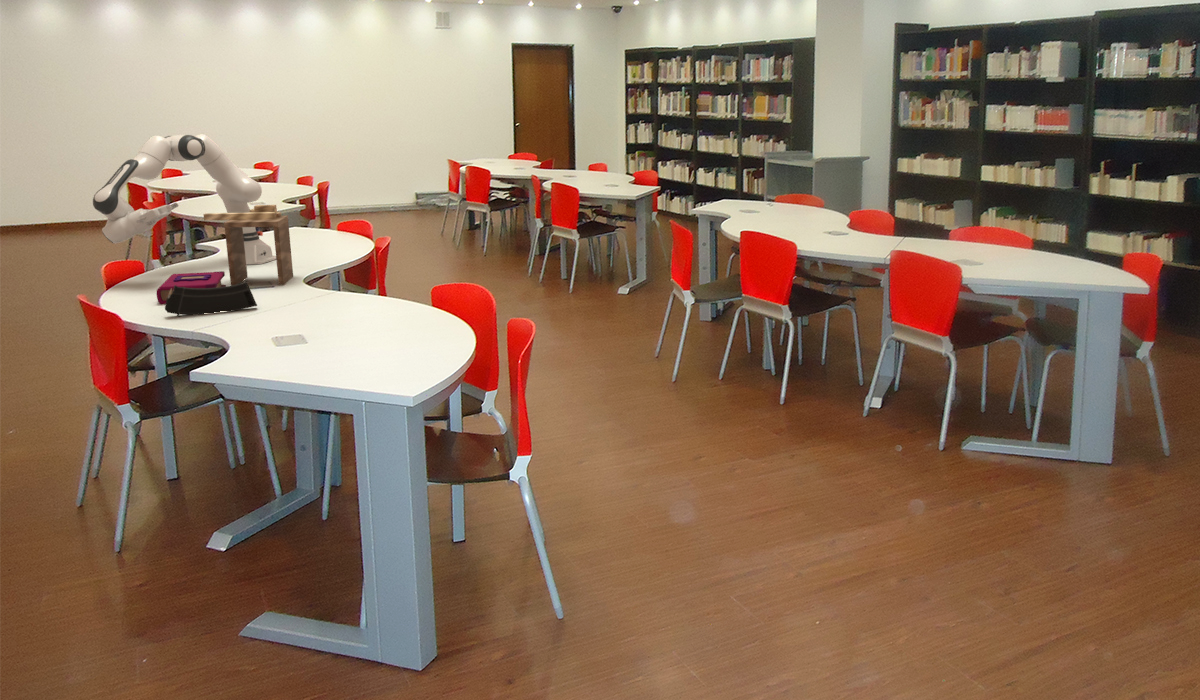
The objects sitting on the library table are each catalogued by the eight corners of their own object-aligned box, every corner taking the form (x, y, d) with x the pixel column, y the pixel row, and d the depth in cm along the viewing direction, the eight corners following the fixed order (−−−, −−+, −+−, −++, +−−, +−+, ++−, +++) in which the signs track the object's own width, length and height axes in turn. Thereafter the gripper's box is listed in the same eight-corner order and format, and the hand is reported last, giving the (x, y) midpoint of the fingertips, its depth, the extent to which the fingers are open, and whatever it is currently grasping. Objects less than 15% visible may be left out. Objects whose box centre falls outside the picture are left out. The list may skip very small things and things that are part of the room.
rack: (230, 286, 393) (222, 210, 385) (242, 277, 411) (235, 205, 403) (283, 285, 395) (276, 209, 387) (293, 276, 413) (286, 204, 405)
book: (157, 305, 360) (155, 285, 358) (171, 291, 386) (169, 272, 384) (217, 302, 365) (215, 282, 363) (226, 288, 391) (224, 269, 389)
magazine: (261, 283, 353) (173, 266, 338) (262, 284, 350) (173, 267, 335) (251, 328, 355) (163, 313, 340) (252, 329, 352) (164, 315, 338)
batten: (204, 220, 393) (203, 214, 392) (206, 219, 395) (205, 213, 395) (274, 219, 395) (274, 213, 395) (276, 218, 398) (275, 212, 397)
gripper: (130, 215, 379) (162, 200, 380) (146, 210, 399) (176, 196, 399) (139, 229, 381) (171, 214, 381) (154, 224, 401) (184, 210, 401)
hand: (174, 205), depth 391 cm, fingers open, 8 cm apart
